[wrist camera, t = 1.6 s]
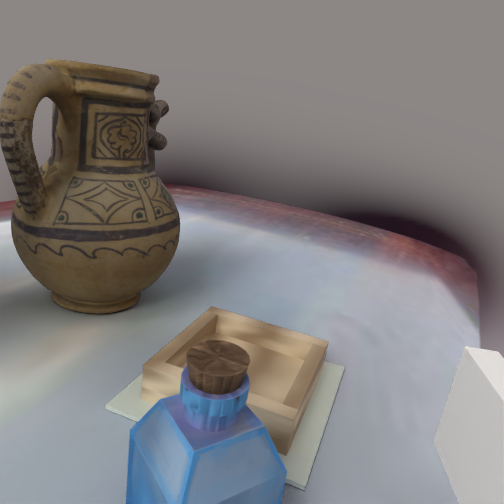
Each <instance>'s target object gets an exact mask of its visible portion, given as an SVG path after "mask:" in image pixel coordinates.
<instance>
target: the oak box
mask: <svg viewBox="0 0 504 504" xmlns="http://www.w3.org/2000/svg"><path fill="white" fill-rule="evenodd" d="M206 340H223V341H227V342H231V343H234V344H236V345H238V346H240V347H241V348H243V349H244V350H246V352H247V353H248V355H249V357H250V364H249V366H248V369H247V371H246V373H247V374H248V376H249V380H250V386H249V392H248V398H247V401H246V405H247V406H248V407H249V408H250V409H251V411H252V412H253V413H254V414H255V415H256V416H257V417H258V418H259V420H260V421H261V422H262V423H263V424H264V425H265V427H266V429H267V431H268V433H269V435H270V437H271V439H272V441H273V443H274V446H275V448H276V450H277V452H278V453H280V454H282V455H285V456H287V453H288V451H289V448H290V446H291V444H292V441H293V439H294V437H295V434H296V432H297V429H298V427H299V425H300V422H301V420H302V417H303V415H304V413H305V410H306V408H307V405H308V403H309V401H310V398H311V396H312V394H313V391H314V389H315V386H316V384H317V382H318V379H319V377H320V374H321V372H322V369H323V364H324V360H325V355H326V351H327V346H328V341H325V340H321V339H318V338H315V337H311V336H308V335H305V334H302V333H298V332H295V331H292V330H288V329H285V328H282V327H278V326H275V325H272V324H268V323H265V322H262V321H259V320H255V319H252V318H249V317H245V316H242V315H239V314H235V313H232V312H229V311H226V310H222V309H219V308H216V307H210V308H209V309H208V310H207V311H206V312H205V313H203V314H202V315H201V316H200V317H199V318H197V319H196V320H195V321H194V322H193V323H192V324H190V325H189V326H188V327H187V328H186V329H185V330H183V331H182V332H181V333H180V334H179V335H178V336H176V337H175V338H174V339H173V340H172V341H171V342H169V343H168V344H167V345H166V346H165V347H164V348H162V349H161V350H160V351H159V352H158V353H157V354H155V355H154V356H153V357H152V358H151V359H150V360H148V361H147V362H146V363H145V364H144V365H143V377H142V392H141V399H142V400H144V401H147V402H149V403H152V404H156V403H157V402H158V401H159V400H160V399H162V398H166V397H169V396H173V395H177V394H180V384H181V374H182V372H183V370H184V368H185V367H186V366H187V359H186V353H187V351H188V349H189V348H190V347H191V346H192V345H194V344H195V343H198V342H201V341H206Z"/></svg>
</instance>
